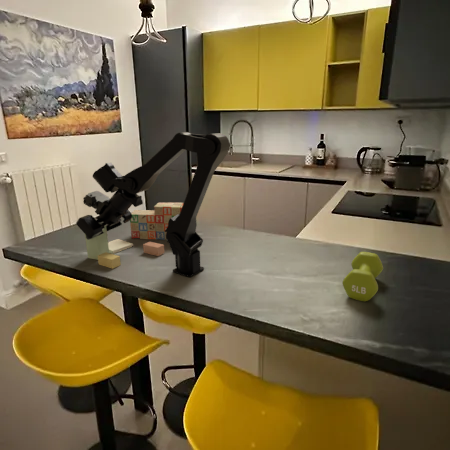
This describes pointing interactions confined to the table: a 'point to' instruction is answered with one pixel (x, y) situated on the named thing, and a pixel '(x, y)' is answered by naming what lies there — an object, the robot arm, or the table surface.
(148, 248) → the terracotta brick
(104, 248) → the sage brick
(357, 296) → the dumbbell
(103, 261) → the ochre brick
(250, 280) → the table surface
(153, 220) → the stack of blocks
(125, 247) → the cream square slab
